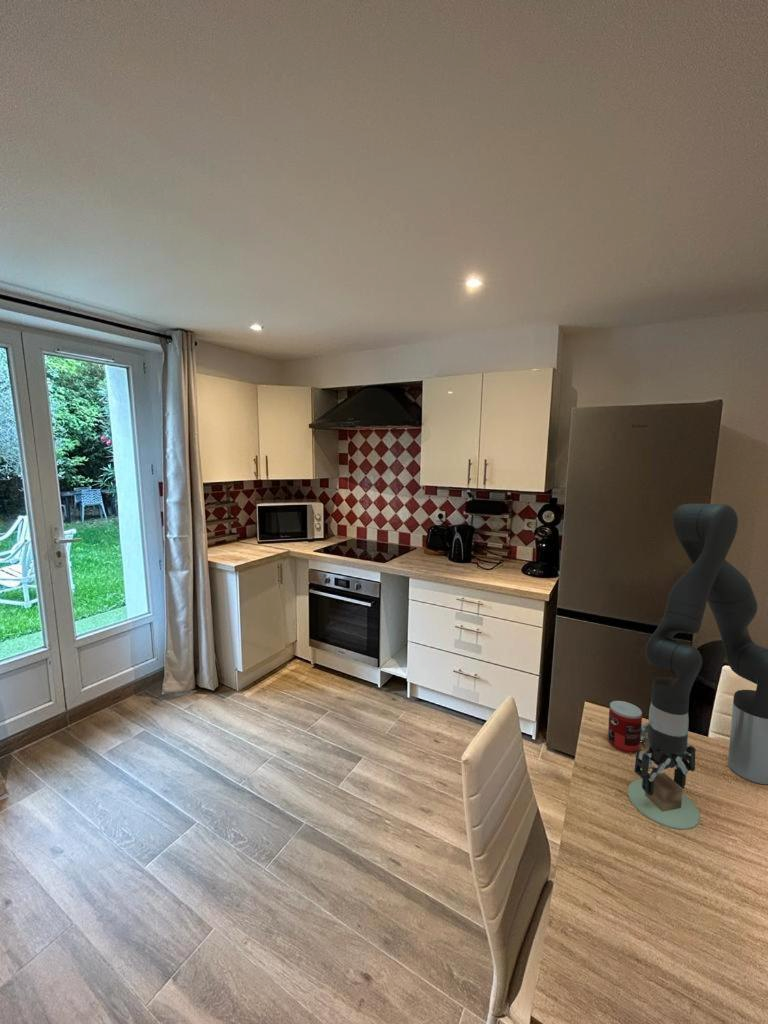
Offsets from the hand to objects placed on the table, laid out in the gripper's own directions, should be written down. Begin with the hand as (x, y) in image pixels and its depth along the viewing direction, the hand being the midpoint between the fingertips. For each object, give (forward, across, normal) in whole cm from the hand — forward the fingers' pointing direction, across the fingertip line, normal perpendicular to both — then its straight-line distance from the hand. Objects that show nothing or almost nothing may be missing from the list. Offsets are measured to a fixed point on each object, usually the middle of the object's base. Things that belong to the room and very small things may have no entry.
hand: (663, 789), depth 97 cm
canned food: (+4, -7, -20) cm, 22 cm away
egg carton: (+4, -17, -20) cm, 26 cm away
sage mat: (+4, 0, 0) cm, 4 cm away
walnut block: (+3, 0, 0) cm, 3 cm away
